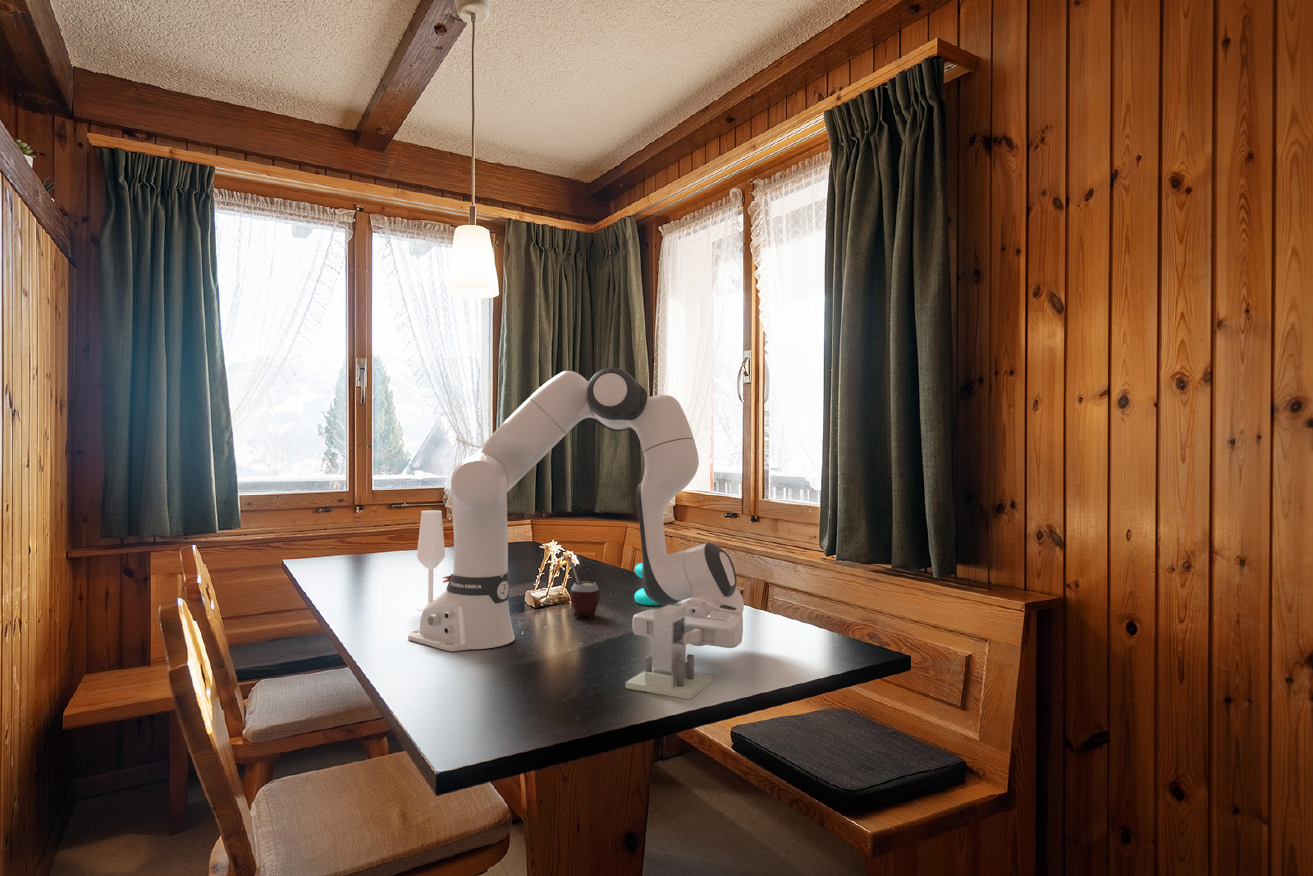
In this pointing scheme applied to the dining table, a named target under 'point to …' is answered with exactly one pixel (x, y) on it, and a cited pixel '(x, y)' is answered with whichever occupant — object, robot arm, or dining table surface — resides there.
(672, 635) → the block
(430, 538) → the champagne flute
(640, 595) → the donuts
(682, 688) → the peg board
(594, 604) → the mate gourd
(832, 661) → the dining table surface
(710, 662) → the dining table surface
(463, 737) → the dining table surface
